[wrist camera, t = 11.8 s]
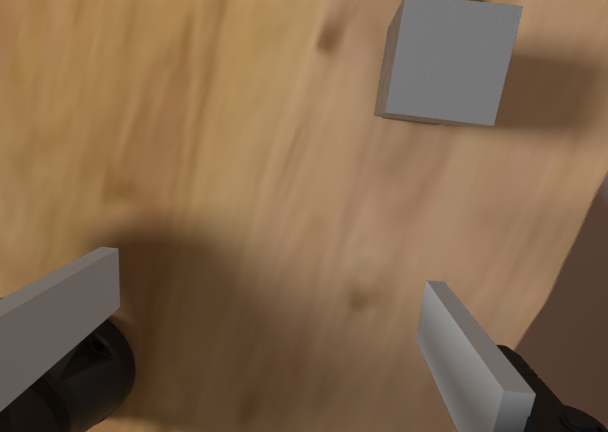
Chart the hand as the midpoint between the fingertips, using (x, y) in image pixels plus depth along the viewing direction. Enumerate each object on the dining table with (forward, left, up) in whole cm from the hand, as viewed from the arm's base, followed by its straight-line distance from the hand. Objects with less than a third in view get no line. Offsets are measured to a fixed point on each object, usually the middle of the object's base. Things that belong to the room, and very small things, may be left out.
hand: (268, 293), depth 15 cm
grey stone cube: (+8, +12, -19) cm, 24 cm away
